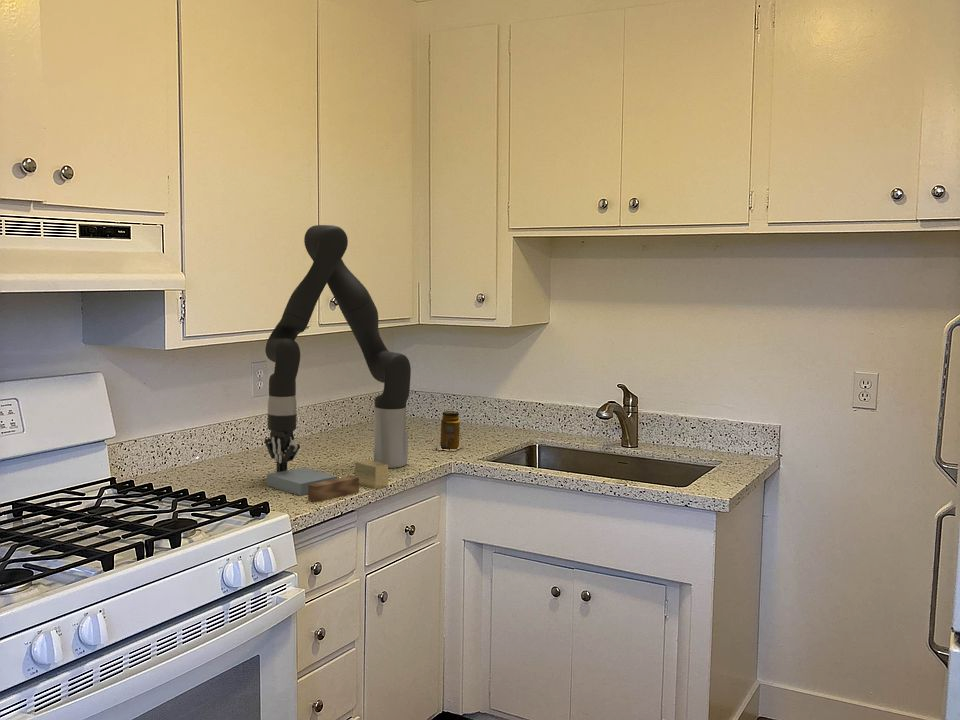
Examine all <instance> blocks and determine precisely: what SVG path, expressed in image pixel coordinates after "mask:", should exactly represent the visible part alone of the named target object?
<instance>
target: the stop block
mask: <svg viewBox="0 0 960 720" xmlns="http://www.w3.org/2000/svg"><path fill="white" fill-rule="evenodd" d="M357 493H360V484H359V477H355V475H347V476H343V477H337V479H333V480H328V481H323V482H318V483H313V484H309V485H308V494H307V497H308V498H307V499H308V501H311V502H314V503H318V502H322V501H326V500H331V499H336V498H340V497H345V496H349V495H353V494H357Z"/></svg>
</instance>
